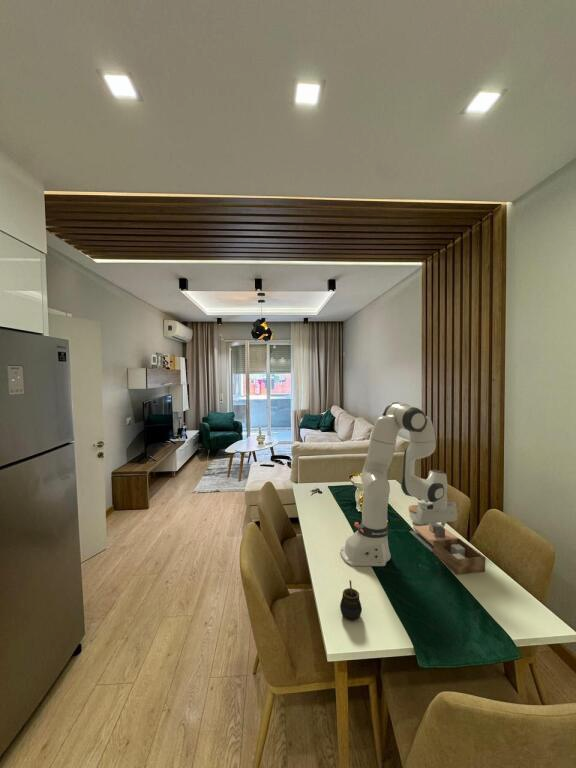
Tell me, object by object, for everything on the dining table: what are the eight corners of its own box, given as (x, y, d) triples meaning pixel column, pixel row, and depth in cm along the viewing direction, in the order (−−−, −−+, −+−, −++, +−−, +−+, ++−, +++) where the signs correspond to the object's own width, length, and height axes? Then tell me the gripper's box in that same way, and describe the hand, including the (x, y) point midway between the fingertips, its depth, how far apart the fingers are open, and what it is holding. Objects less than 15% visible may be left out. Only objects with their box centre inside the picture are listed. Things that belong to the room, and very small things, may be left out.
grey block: (456, 558, 145) (456, 549, 145) (450, 553, 149) (450, 544, 149) (464, 557, 146) (464, 548, 146) (458, 552, 150) (458, 544, 150)
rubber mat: (432, 552, 152) (432, 551, 152) (409, 531, 171) (409, 531, 171) (467, 548, 155) (467, 548, 155) (440, 529, 174) (440, 528, 174)
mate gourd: (342, 624, 108) (342, 594, 108) (338, 608, 116) (337, 580, 116) (364, 623, 109) (364, 593, 109) (358, 607, 116) (358, 579, 116)
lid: (434, 546, 153) (434, 535, 152) (413, 528, 170) (413, 518, 170) (463, 543, 155) (463, 533, 155) (439, 526, 173) (439, 516, 173)
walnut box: (456, 574, 135) (457, 560, 135) (433, 553, 151) (433, 540, 150) (484, 571, 137) (485, 557, 137) (458, 551, 153) (459, 538, 153)
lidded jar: (424, 518, 187) (425, 502, 187) (432, 527, 176) (432, 509, 176) (405, 518, 187) (406, 501, 187) (412, 526, 177) (412, 509, 176)
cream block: (457, 568, 138) (457, 559, 137) (451, 563, 142) (451, 554, 141) (465, 567, 138) (465, 558, 138) (459, 562, 142) (459, 553, 142)
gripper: (452, 499, 167) (451, 525, 167) (414, 501, 164) (414, 529, 164) (460, 503, 161) (460, 531, 161) (422, 506, 157) (421, 535, 158)
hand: (436, 530), depth 163 cm, fingers closed on lid, 3 cm apart
